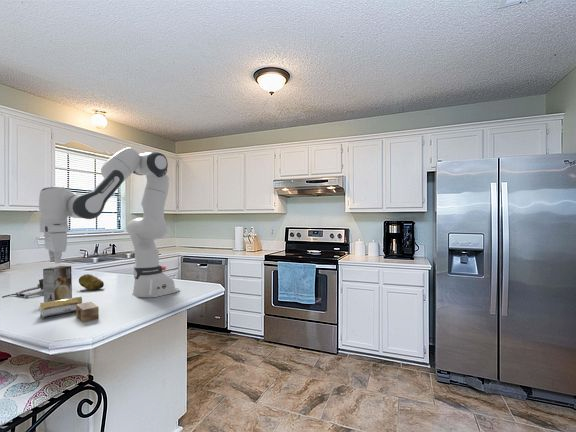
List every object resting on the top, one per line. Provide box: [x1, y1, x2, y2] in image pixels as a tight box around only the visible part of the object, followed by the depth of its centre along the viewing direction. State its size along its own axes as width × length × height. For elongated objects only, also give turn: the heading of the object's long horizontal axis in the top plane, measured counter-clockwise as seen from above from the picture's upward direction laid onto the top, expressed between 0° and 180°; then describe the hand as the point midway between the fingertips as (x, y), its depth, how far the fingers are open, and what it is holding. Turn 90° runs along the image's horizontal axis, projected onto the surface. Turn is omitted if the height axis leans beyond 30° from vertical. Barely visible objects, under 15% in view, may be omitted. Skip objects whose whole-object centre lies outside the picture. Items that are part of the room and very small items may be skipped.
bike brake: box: [1, 278, 44, 299], centre depth 158 cm, size 14×7×20 cm
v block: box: [39, 303, 81, 321], centre depth 121 cm, size 12×7×5 cm, turn 136°
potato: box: [78, 273, 105, 291], centre depth 169 cm, size 8×13×8 cm, turn 63°
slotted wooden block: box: [75, 301, 100, 323], centre depth 117 cm, size 5×10×6 cm, turn 46°
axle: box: [39, 296, 83, 311], centre depth 122 cm, size 13×3×3 cm, turn 136°
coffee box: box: [42, 265, 73, 303], centre depth 145 cm, size 9×6×16 cm
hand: (55, 261), depth 123 cm, fingers open, 8 cm apart
